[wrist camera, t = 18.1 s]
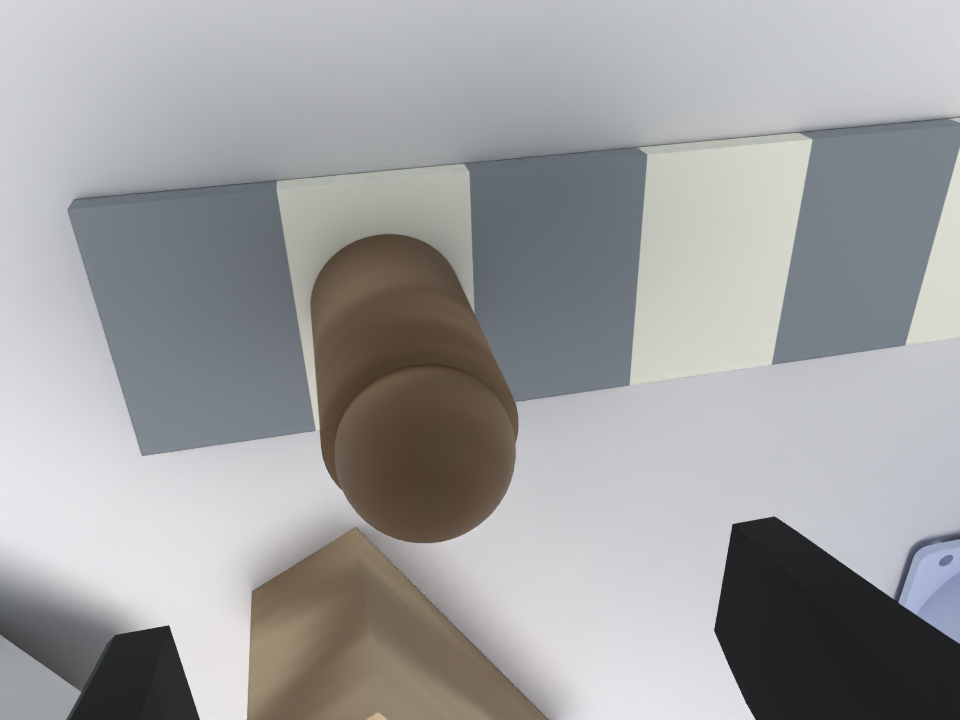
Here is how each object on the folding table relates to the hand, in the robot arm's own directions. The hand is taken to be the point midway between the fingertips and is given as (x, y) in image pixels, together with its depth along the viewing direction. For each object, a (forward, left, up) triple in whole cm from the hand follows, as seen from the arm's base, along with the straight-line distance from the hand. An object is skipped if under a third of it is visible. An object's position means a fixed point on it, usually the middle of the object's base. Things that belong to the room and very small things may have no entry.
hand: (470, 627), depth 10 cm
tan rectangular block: (0, +13, -10) cm, 16 cm away
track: (-6, 0, -10) cm, 12 cm away
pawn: (0, 0, -9) cm, 9 cm away
